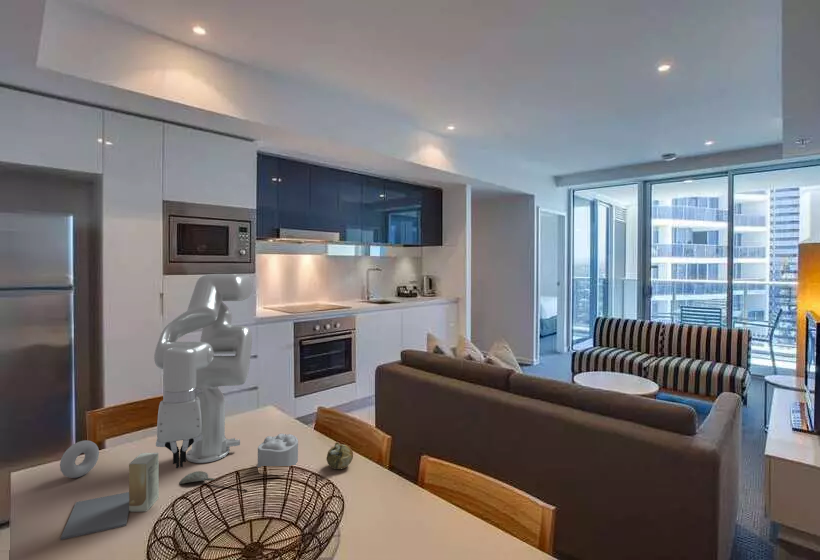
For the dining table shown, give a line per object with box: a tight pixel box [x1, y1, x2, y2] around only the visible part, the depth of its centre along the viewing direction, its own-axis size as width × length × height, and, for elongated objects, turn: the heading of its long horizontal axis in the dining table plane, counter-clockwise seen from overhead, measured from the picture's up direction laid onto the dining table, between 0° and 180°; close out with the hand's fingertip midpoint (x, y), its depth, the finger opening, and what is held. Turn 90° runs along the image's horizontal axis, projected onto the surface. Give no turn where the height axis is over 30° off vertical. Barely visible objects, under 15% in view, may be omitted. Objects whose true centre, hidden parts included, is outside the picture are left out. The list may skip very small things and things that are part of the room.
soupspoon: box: [178, 470, 215, 485], centre depth 120 cm, size 22×3×7 cm
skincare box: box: [128, 452, 160, 513], centre depth 108 cm, size 6×4×12 cm
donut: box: [59, 439, 100, 479], centre depth 122 cm, size 10×4×10 cm, turn 161°
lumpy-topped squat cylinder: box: [257, 433, 299, 468], centre depth 132 cm, size 10×13×9 cm
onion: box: [326, 441, 354, 470], centre depth 131 cm, size 8×8×8 cm
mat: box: [60, 491, 130, 541], centre depth 104 cm, size 12×16×1 cm
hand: (179, 465), depth 112 cm, fingers closed
